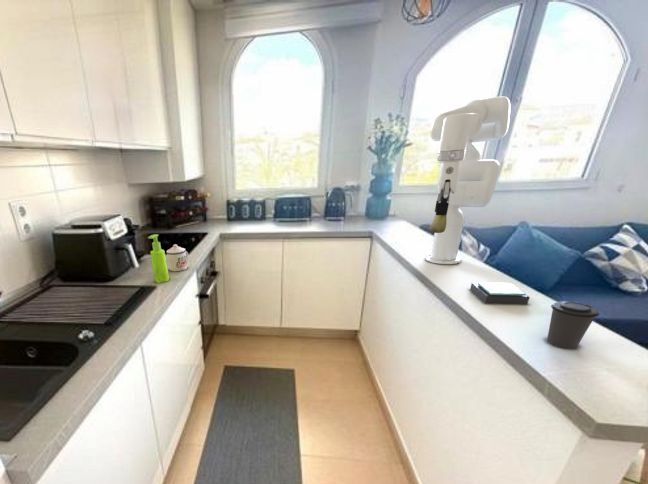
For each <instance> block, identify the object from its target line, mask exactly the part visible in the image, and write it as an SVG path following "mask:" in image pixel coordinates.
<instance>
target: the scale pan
mask: <svg viewBox="0 0 648 484" xmlns="http://www.w3.org/2000/svg"><path fill="white" fill-rule="evenodd" d="M477 283H478V285H479V286H480V287H482V288H483V289H484V290H485V291H486V292H488V293H489V294H490V295H527V293H526V292H524V291H523V290H521V289H520V288H518V287H517V286H515V284H513V283H511V282H502V283H481V282H477Z"/></svg>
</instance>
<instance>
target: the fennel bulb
mask: <svg viewBox="0 0 648 484" xmlns="http://www.w3.org/2000/svg"><path fill="white" fill-rule="evenodd" d="M437 199H438V198H437ZM441 199H442V198H441ZM437 201H438V203H439V199H438V200H437ZM448 203H449V202H448ZM446 219H447V215H436V213H435V214H434V217H433V219H432V222H431V223H430V225H429V231H430V232H431V233H434V234H435V233H442V232H444V231H445V229H446V221H447V220H446Z"/></svg>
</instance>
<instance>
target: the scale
mask: <svg viewBox="0 0 648 484" xmlns="http://www.w3.org/2000/svg"><path fill="white" fill-rule="evenodd" d="M478 283H479V282H471V283H470V289H469V290H470V291H471V292H472V293H473V295H474V296H476V297H477V298H478V299H479V300H480V301H481V302H483V304H486V305H522V306H523V305H527V306H528V304H529V300H530V295H528V294H526V295H490V294H489V293H488V292H486V291H485V290H484V289H483V288H482V287H480V286H479V285H478ZM480 283H503V281H480Z"/></svg>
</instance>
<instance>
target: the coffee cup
mask: <svg viewBox="0 0 648 484" xmlns="http://www.w3.org/2000/svg"><path fill="white" fill-rule="evenodd" d="M550 307H551V309H552V310H551V316H550V322H549V328H548V333H547V338H546V342H547V343H548V344H550V345H552V346H554V347H557V348H561V349H565V350H566V349H568V350H573V349H577V347H578V346H579V344H580V342H581V341H582V339H583V338H584V336H585V335H586V333H587V331H588V329H589V328H590V326H591V324H592V323H593V321H594V319H595V318H596V317H598V316H600V312H599V310H598V309H597V308H596V307H593V306H591V305H589V304H584V303H581V302H576V301H555V302H554V303H552V304H551V305H550Z"/></svg>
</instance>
